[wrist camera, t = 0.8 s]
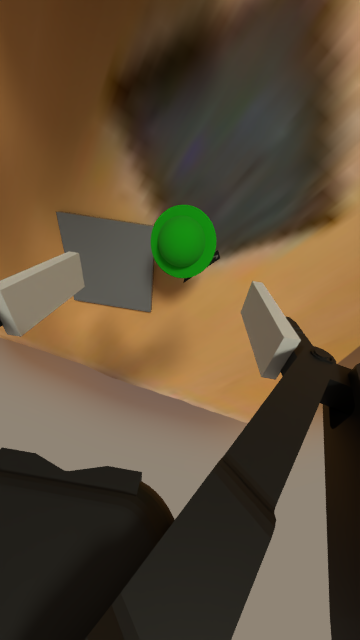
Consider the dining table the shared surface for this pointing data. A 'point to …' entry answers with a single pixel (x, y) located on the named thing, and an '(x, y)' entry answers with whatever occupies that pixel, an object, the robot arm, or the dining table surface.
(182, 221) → the toy
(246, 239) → the dining table surface
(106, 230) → the plate
